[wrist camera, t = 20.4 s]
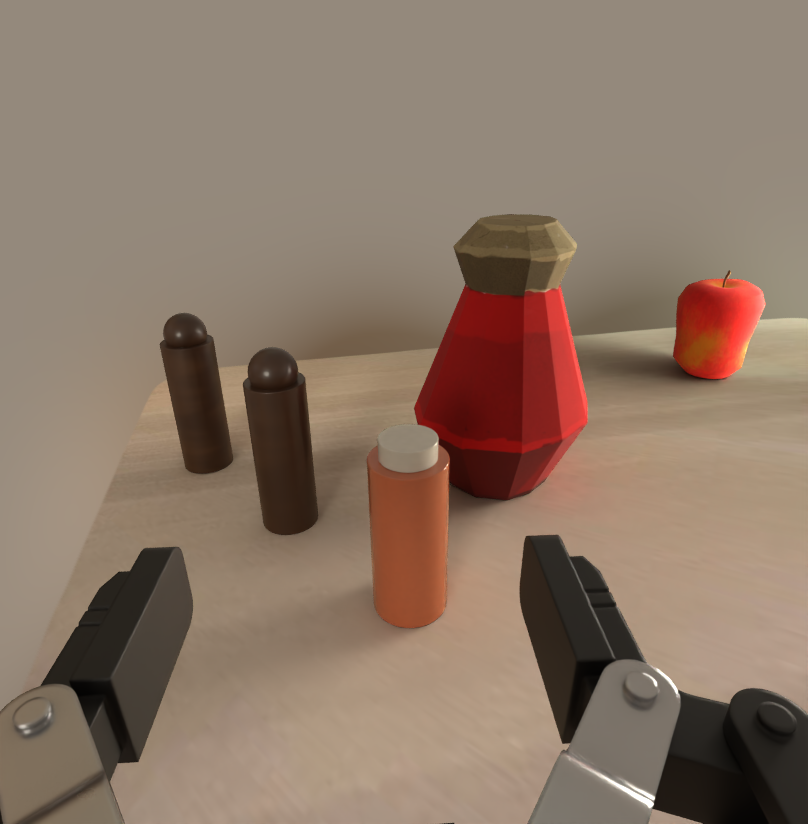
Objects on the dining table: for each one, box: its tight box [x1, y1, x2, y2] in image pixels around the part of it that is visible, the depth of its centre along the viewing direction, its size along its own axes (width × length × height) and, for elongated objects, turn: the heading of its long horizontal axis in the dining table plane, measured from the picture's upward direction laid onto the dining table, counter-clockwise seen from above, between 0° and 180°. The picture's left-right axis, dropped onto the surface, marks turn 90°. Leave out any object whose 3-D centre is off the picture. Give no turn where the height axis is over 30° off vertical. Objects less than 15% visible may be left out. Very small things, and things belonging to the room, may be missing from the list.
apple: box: [673, 271, 765, 379], centre depth 64 cm, size 9×8×12 cm
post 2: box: [243, 347, 318, 535], centre depth 39 cm, size 4×4×13 cm
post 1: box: [160, 313, 233, 474], centre depth 47 cm, size 4×4×13 cm
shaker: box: [367, 424, 450, 628], centre depth 32 cm, size 4×4×11 cm
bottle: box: [414, 214, 587, 500], centre depth 44 cm, size 16×14×20 cm
